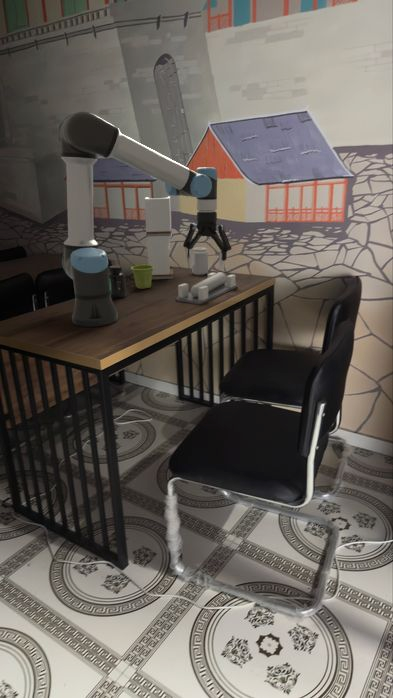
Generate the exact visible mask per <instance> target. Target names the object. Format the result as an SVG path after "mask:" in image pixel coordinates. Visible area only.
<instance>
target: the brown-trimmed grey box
mask: <svg viewBox="0 0 393 698" xmlns="http://www.w3.org/2000/svg"><path fill="white" fill-rule="evenodd" d="M171 210H172V208H171V196H167V197H161V198H158V197H157V198H152V197H151V198H150V197H148V196H147V197H145V198H144V216H145V217H144V218H145V230H146V231H145V232H146V248H147V249H146V252H147V265H152V266H154V268H153V271H152V279H151V280H168V279H169V280H172V279H173V278H174V269H172V268H170V267H171V266H170V252H171V243H170V240H171V239H172V237H173V234H172V233H173V232H172V211H171Z"/></svg>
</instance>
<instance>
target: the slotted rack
mask: <svg viewBox="0 0 393 698" xmlns="http://www.w3.org/2000/svg"><path fill="white" fill-rule="evenodd" d="M215 274H217V272H210V273H207V278H209V277H211V276H213V275H215ZM238 285H239V284H236V274H229V275H227V281H226V283H225V284H224V285H221V286H219V287H218V288H216V289H214V290H212V291H211V292H209V293H208V286H202V287H200V288H198V298H196V297H193V296H192V295H191V291H190V292H189V283H181V284H178V285H177V293H178V296H177V297H176V298H175V301H176V302H180V303H188V304H195V305H202V304H204V303H206V302H209V301H210V300H212V299H215V298H217V297H220V296H221V295H224V294H225V293H228V292H230V291H232V290H235V289H237V288H238V287H239V286H238ZM236 287H237V288H236Z"/></svg>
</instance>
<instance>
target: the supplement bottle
mask: <svg viewBox="0 0 393 698" xmlns="http://www.w3.org/2000/svg"><path fill="white" fill-rule="evenodd" d="M108 270H109V282H110V294H111V299H123V298H125V297H127V287H126V275H125V274H124V272H122V271H123V270H122V266H121V265H116V264H115V265H110V266H108Z"/></svg>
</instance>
